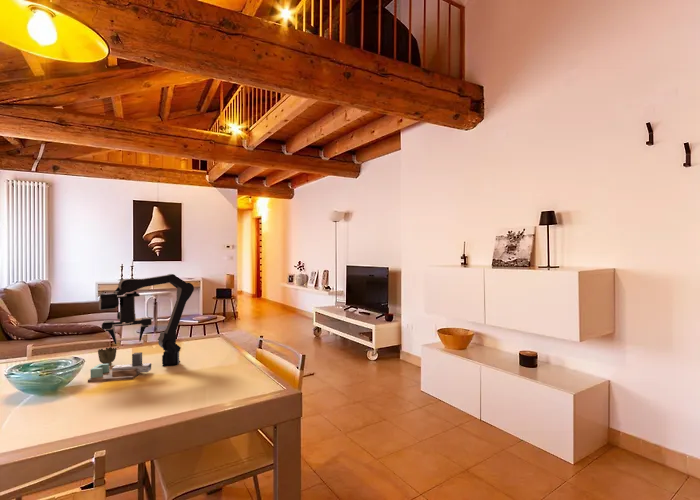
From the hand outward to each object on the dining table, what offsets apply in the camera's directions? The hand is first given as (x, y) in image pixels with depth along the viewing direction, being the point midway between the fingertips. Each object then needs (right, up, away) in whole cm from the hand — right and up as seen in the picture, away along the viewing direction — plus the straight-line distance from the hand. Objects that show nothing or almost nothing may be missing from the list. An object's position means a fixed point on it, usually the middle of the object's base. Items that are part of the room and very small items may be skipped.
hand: (128, 342), depth 164 cm
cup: (-16, -14, +10) cm, 23 cm away
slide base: (-2, -13, -4) cm, 14 cm away
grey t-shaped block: (+4, -12, -3) cm, 13 cm away
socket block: (-8, -13, -6) cm, 17 cm away
